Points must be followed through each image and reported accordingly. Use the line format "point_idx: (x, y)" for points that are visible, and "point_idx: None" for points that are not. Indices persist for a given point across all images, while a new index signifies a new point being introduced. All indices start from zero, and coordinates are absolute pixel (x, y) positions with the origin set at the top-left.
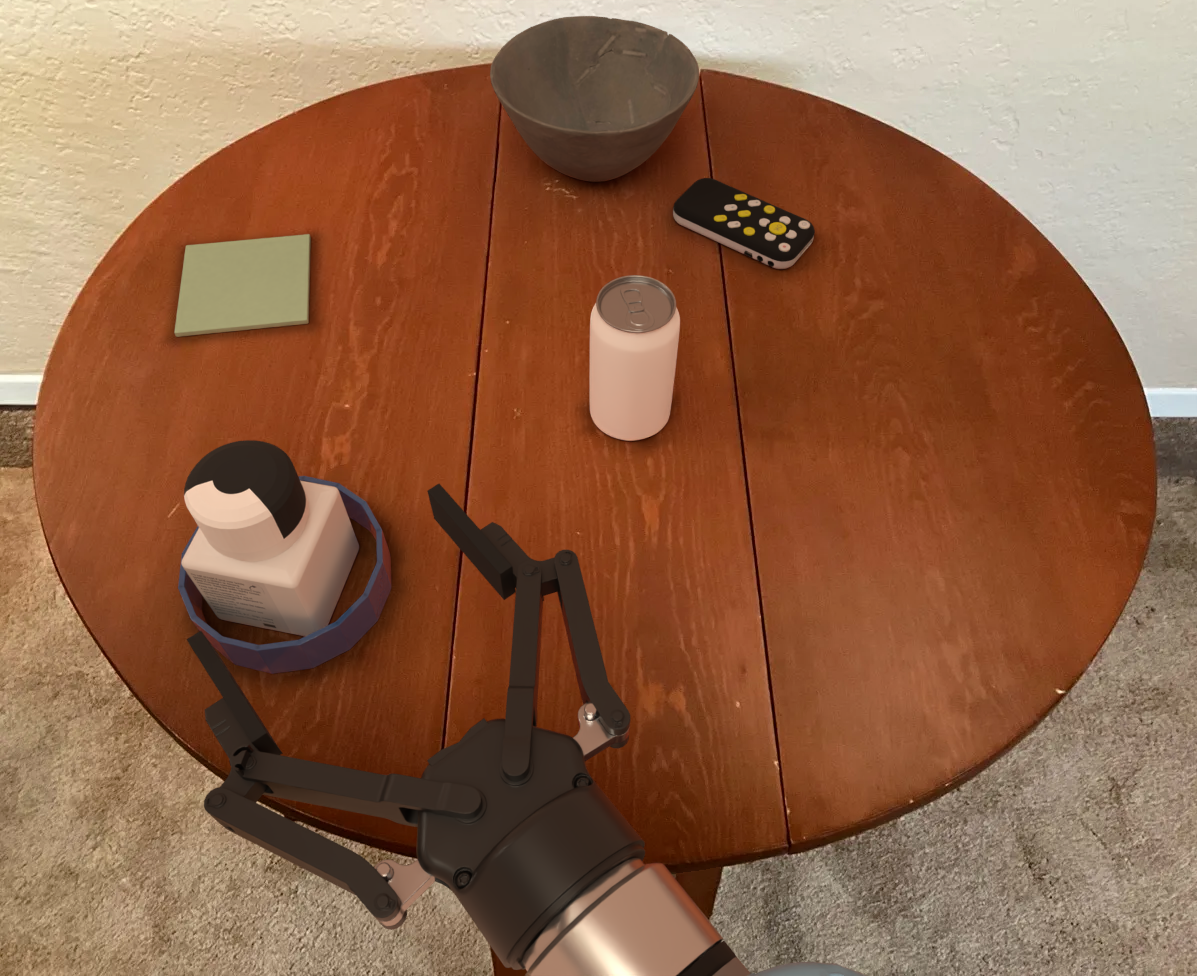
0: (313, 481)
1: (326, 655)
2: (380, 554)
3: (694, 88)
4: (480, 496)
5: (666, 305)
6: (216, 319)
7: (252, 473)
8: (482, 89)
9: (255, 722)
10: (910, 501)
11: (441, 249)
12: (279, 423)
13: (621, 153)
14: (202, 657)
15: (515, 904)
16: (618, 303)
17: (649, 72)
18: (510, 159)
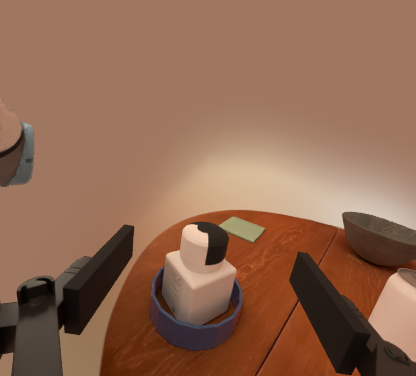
0: None
1: (181, 342)
2: (235, 313)
3: None
4: (290, 331)
5: None
6: (229, 229)
7: (212, 231)
8: (330, 229)
9: (85, 278)
10: None
11: (304, 250)
12: (227, 258)
13: (393, 251)
14: (118, 233)
15: None
16: (412, 278)
17: (404, 241)
18: (336, 244)
